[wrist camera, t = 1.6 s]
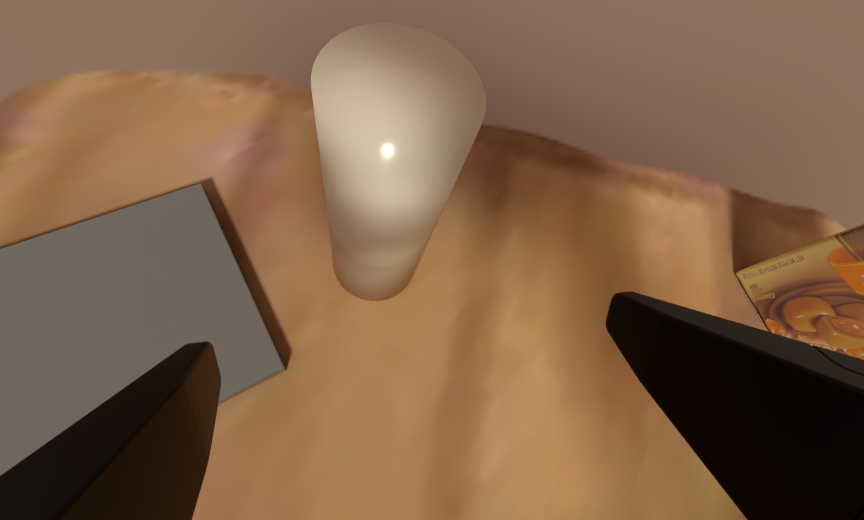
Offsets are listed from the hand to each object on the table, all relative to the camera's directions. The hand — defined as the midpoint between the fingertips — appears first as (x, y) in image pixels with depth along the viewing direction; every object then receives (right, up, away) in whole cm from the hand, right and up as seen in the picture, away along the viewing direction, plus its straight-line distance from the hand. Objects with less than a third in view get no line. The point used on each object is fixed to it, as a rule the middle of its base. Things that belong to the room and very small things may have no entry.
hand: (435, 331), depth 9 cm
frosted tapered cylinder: (-3, +1, +13) cm, 14 cm away
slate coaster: (-15, -1, +10) cm, 18 cm away
